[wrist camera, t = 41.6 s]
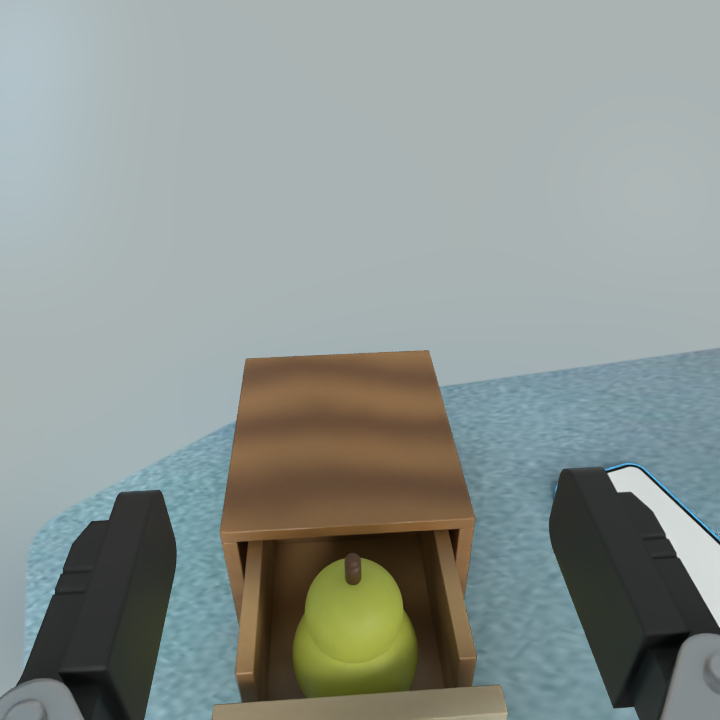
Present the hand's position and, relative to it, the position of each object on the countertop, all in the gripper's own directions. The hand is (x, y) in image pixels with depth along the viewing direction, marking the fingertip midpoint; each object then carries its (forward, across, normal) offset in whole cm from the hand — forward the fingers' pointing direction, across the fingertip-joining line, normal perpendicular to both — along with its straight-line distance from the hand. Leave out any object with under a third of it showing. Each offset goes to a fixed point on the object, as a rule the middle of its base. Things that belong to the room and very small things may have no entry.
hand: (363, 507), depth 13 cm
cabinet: (+20, 0, +24) cm, 32 cm away
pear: (+8, 0, +22) cm, 23 cm away
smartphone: (+15, -20, +24) cm, 35 cm away
